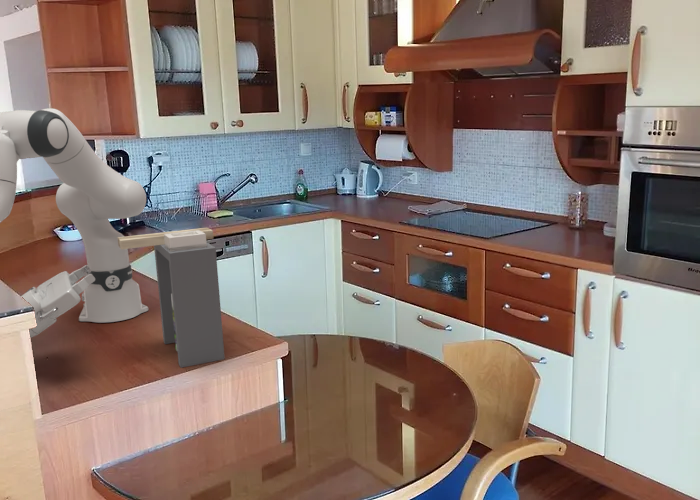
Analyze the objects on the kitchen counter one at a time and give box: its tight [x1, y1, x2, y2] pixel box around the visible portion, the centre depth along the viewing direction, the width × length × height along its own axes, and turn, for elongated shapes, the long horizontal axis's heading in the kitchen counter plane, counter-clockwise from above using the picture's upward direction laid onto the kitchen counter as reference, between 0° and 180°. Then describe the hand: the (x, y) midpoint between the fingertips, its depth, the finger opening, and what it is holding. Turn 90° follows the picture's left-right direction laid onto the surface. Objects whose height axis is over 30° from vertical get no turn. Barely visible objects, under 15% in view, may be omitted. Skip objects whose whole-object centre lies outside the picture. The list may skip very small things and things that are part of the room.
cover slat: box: [118, 227, 214, 250], centre depth 156 cm, size 5×21×2 cm, turn 116°
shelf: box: [153, 241, 226, 368], centre depth 156 cm, size 20×10×26 cm, turn 26°
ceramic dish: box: [164, 230, 207, 252], centre depth 149 cm, size 6×8×3 cm
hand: (91, 271), depth 150 cm, fingers open, 8 cm apart
